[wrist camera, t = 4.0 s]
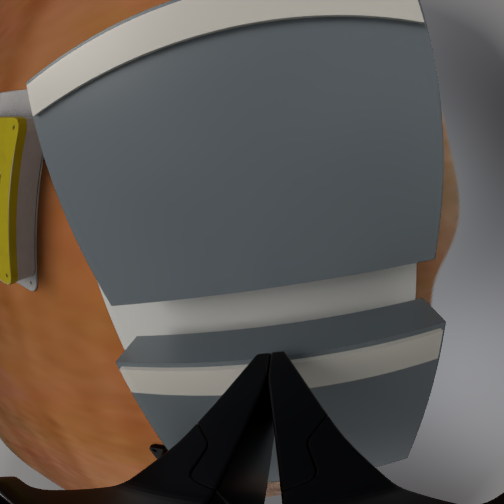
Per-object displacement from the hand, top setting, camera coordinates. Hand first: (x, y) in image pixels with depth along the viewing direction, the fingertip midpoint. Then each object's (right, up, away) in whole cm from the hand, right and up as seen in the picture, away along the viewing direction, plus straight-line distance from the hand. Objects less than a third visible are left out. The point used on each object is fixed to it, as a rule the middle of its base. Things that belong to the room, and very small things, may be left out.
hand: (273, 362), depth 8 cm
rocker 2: (+1, -4, +2) cm, 5 cm away
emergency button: (-19, +9, +7) cm, 22 cm away
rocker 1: (-1, +6, -1) cm, 7 cm away
